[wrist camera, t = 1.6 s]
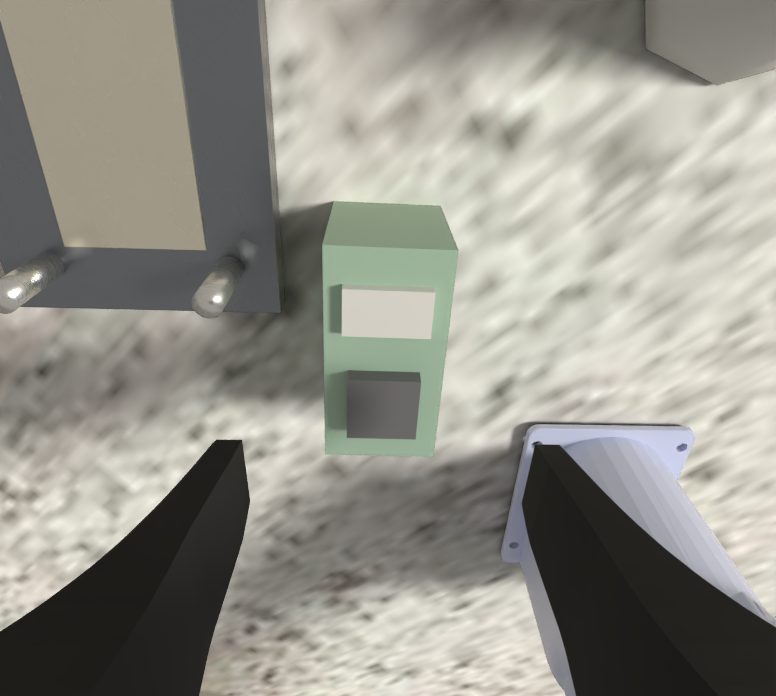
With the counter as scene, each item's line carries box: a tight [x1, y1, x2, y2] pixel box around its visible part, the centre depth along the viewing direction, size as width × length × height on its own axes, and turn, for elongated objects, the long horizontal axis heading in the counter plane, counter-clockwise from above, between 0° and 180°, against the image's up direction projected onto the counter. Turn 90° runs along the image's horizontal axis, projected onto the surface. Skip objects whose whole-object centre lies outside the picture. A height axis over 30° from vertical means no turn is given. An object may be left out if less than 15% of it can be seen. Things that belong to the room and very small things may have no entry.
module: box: [322, 201, 458, 457], centre depth 19 cm, size 8×4×6 cm, turn 177°
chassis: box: [0, 0, 285, 318], centre depth 16 cm, size 14×10×4 cm
